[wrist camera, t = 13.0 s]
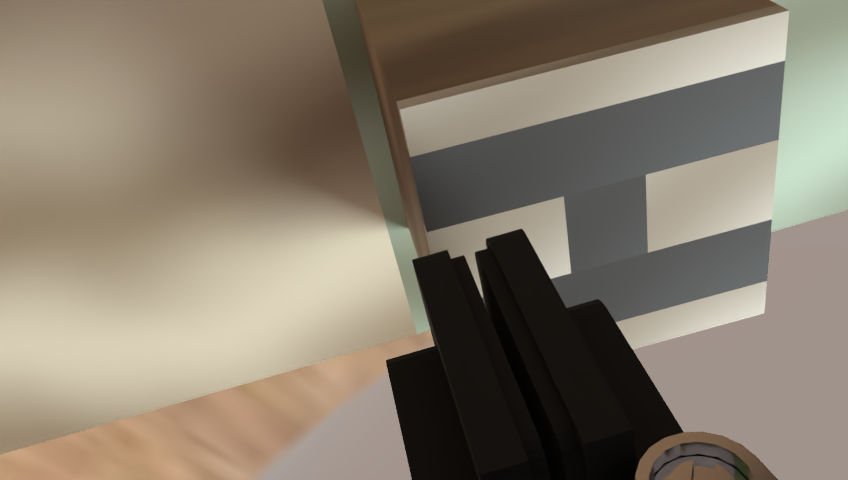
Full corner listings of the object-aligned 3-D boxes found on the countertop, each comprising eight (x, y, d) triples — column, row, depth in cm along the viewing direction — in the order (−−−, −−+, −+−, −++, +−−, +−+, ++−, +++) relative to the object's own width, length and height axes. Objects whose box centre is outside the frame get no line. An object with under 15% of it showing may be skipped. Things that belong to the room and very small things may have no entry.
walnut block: (789, 11, 12) (628, -75, 17) (399, 109, 11) (353, -7, 16) (764, 312, 15) (636, 168, 20) (462, 396, 15) (408, 228, 20)
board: (-630, -31, 14) (-685, -15, 13) (958, -436, 15) (1000, -445, 14) (-146, 471, 22) (-161, 500, 21) (872, 179, 23) (895, 196, 22)
